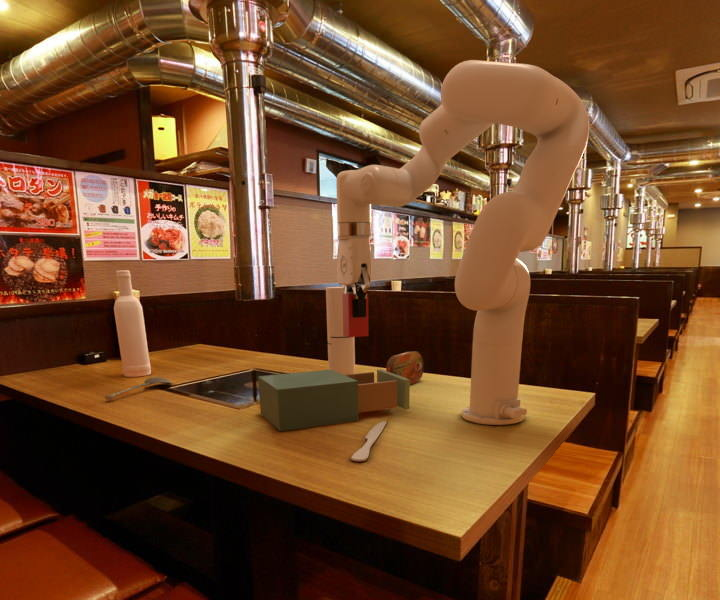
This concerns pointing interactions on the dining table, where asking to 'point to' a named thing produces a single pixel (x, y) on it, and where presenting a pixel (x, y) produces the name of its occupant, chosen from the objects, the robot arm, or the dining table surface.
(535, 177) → the robot arm
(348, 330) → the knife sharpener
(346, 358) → the cylindrical container
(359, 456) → the butter knife
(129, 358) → the bottle
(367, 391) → the drawer
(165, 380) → the soupspoon
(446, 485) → the dining table surface
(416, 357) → the tin
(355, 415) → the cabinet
